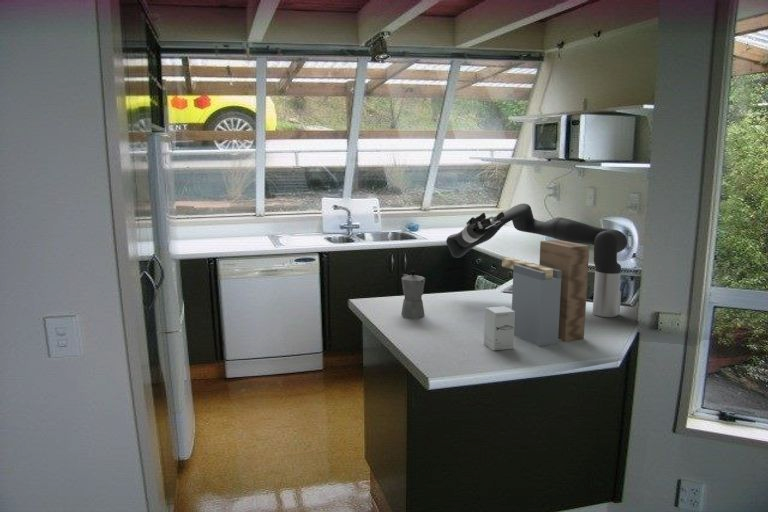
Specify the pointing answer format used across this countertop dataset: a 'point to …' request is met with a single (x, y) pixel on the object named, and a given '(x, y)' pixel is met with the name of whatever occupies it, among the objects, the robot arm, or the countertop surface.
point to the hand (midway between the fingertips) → (494, 214)
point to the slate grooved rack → (536, 305)
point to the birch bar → (510, 262)
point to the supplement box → (499, 328)
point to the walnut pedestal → (569, 284)
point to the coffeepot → (412, 295)
